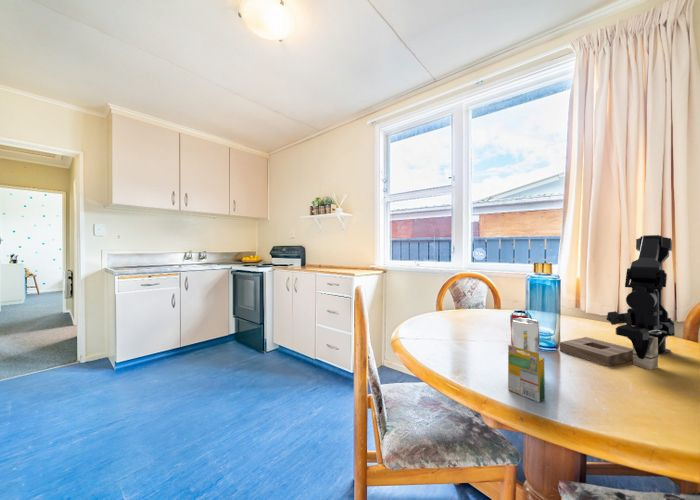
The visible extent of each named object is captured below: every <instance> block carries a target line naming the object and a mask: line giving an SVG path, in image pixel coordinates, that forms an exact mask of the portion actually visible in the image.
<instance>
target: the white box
mask: <svg viewBox="0 0 700 500" xmlns="http://www.w3.org/2000/svg"><path fill="white" fill-rule="evenodd" d="M539 325H540V321H539V320H536V319H533V318H532V319H531V318H514V319H513V322H512V342H513V346H514V347H517V348H521V349H525V350H528V351H532V352H535V353H539V348H540V339H541V338H540V337H541V336H540V335H541V334H540V326H539ZM517 351H518V352H521V353H525V354H528V355H530V354H529V353H526V352H524V351H519V350H517Z"/></svg>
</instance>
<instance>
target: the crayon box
mask: <svg viewBox="0 0 700 500" xmlns="http://www.w3.org/2000/svg"><path fill="white" fill-rule="evenodd" d="M507 350H508V352H507V354H508V355H507V356H508V357H507V362H508V363H507V373H508V374H507V376H508V377H507V389H508V391H509V392H513V393H515V394H518V395H520V396H522V397H525V398H528V399H530V400H532V401H534V402H537V403H541V402H543V401H544V400H545V399H546V397H545V396H546V395H545V392H546V390H545V387H546V386H545V381H546V379H545V378H546V377H545V370H546V369H545V358H541V357H540V353H539V352H538V353H535V352H532V351H528V350H525V349H521V348H517V347H514V346H512V345H510V344H508V346H507ZM517 350H519V351H524V352H526V353H529V354H530V355H528V354H525V353H521V352H518V351H517Z"/></svg>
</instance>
